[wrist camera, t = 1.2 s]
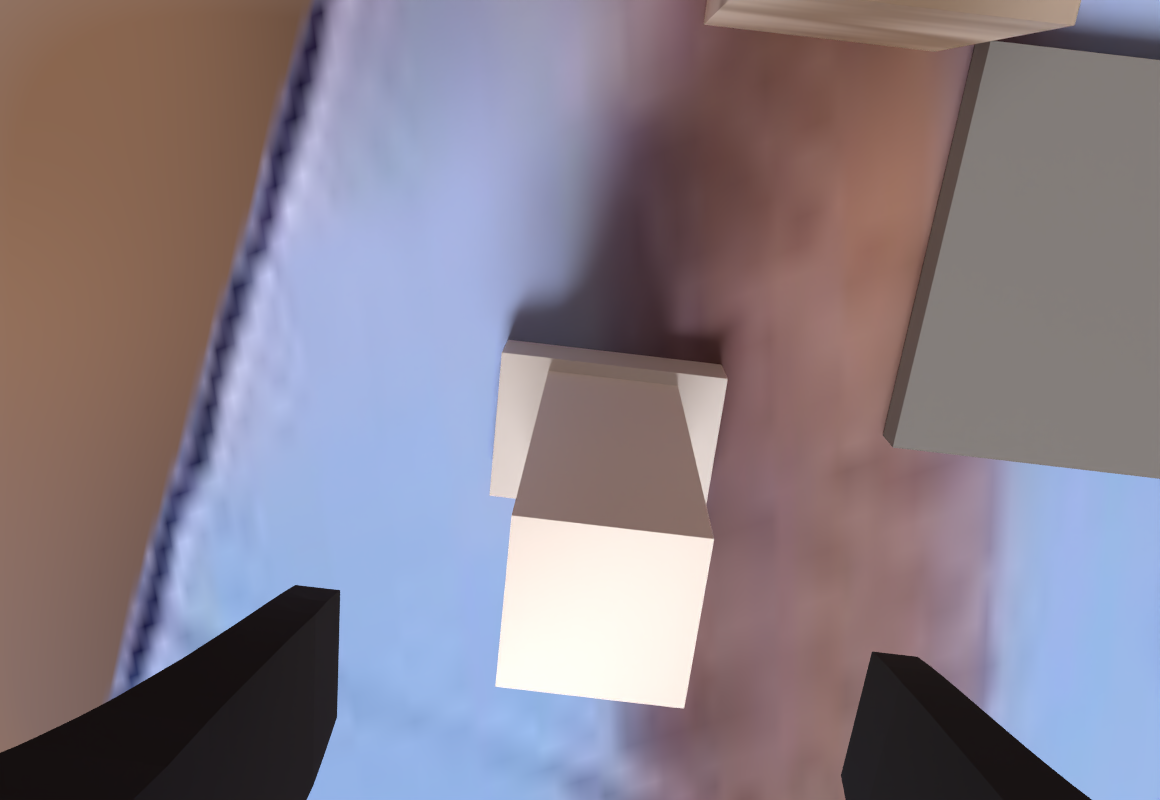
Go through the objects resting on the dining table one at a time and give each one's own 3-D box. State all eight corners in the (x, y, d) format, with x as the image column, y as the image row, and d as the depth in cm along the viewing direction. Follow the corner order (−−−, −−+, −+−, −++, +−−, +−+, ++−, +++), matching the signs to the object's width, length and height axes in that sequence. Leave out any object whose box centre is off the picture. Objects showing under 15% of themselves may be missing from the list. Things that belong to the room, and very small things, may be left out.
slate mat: (1367, 89, 19) (1398, 88, 18) (1222, 475, 21) (1245, 488, 21) (975, 43, 19) (990, 40, 18) (883, 435, 21) (892, 447, 21)
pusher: (721, 364, 21) (792, 529, 13) (698, 499, 22) (749, 732, 14) (508, 339, 21) (438, 488, 13) (495, 475, 22) (425, 694, 14)
